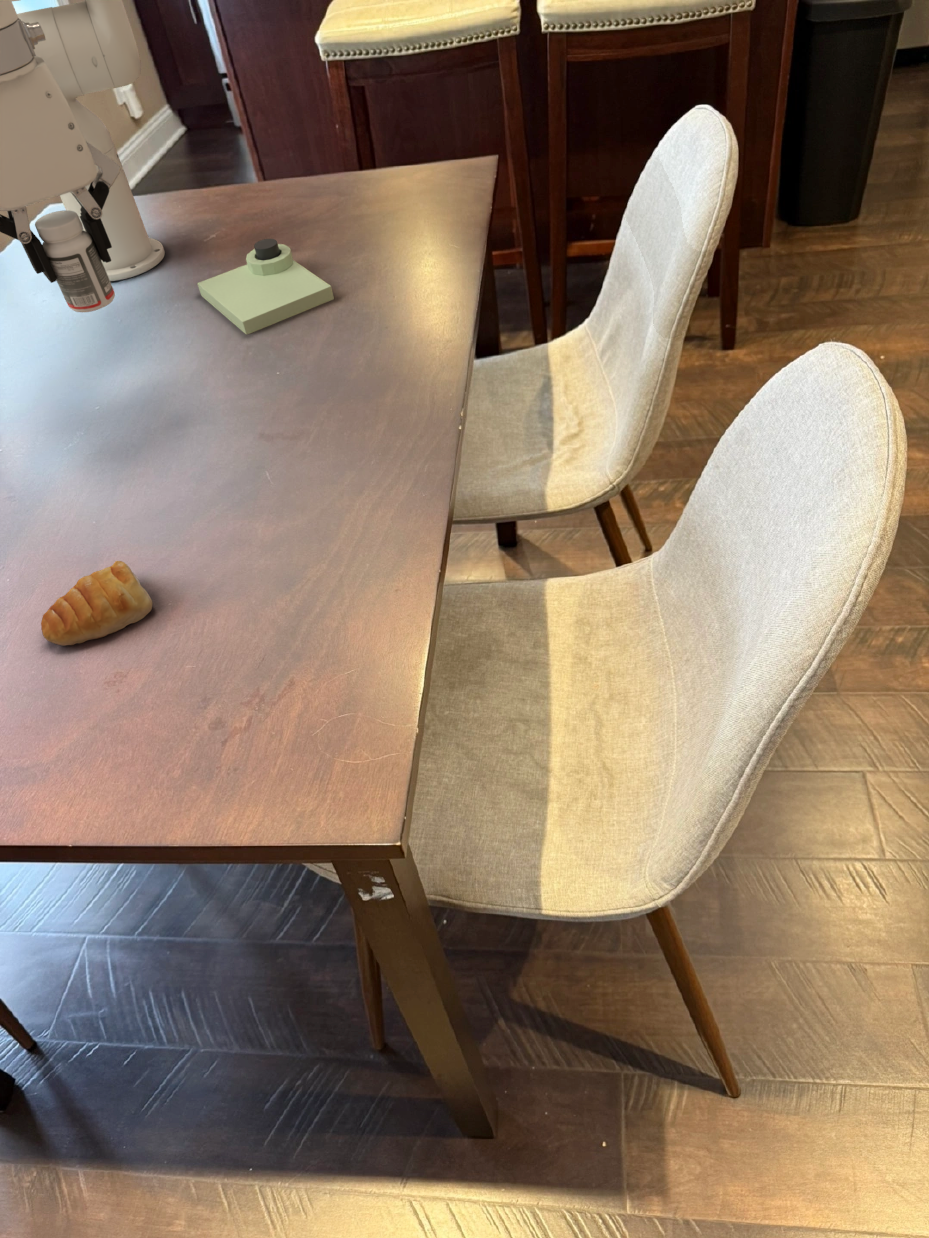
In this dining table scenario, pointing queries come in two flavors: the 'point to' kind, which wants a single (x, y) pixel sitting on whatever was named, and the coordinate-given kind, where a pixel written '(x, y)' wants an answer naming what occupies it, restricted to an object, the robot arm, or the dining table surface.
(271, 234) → the dining table surface
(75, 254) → the pill bottle
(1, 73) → the robot arm
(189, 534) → the dining table surface
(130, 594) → the pastry
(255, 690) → the dining table surface
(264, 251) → the button
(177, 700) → the dining table surface
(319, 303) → the green button base
